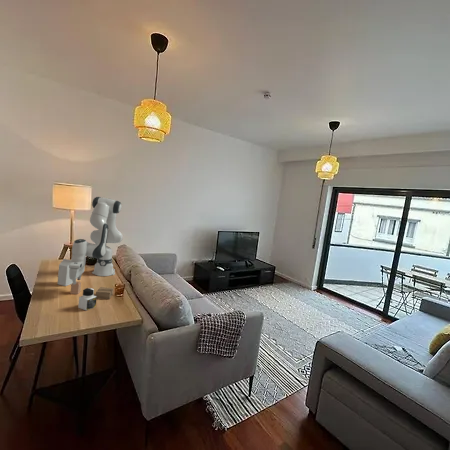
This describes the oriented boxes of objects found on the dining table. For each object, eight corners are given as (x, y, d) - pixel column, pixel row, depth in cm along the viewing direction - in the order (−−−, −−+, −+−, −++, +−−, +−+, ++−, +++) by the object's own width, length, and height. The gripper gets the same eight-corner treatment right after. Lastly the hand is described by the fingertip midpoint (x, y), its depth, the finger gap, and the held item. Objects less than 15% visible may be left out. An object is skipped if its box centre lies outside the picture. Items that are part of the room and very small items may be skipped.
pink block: (72, 291, 183) (73, 281, 183) (80, 291, 184) (81, 281, 184) (70, 293, 179) (71, 283, 178) (77, 294, 180) (78, 283, 179)
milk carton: (65, 286, 190) (67, 261, 189) (57, 284, 192) (59, 259, 190) (73, 283, 197) (75, 259, 195) (65, 281, 198) (67, 257, 197)
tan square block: (99, 293, 186) (100, 287, 185) (112, 294, 187) (113, 288, 187) (95, 298, 177) (96, 291, 177) (109, 299, 179) (110, 292, 178)
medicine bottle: (86, 310, 158) (88, 292, 157) (77, 307, 160) (79, 289, 159) (95, 307, 165) (97, 288, 164) (87, 304, 167) (89, 286, 166)
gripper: (78, 258, 189) (76, 277, 190) (68, 266, 169) (66, 286, 170) (87, 259, 190) (86, 277, 191) (78, 266, 170) (76, 287, 171)
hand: (76, 282), depth 180 cm, fingers open, 8 cm apart
